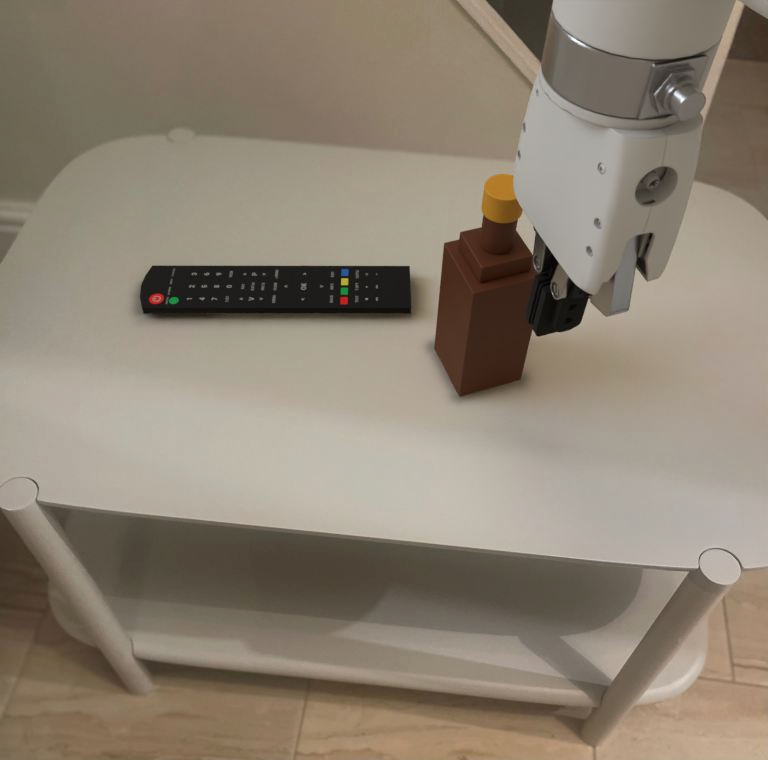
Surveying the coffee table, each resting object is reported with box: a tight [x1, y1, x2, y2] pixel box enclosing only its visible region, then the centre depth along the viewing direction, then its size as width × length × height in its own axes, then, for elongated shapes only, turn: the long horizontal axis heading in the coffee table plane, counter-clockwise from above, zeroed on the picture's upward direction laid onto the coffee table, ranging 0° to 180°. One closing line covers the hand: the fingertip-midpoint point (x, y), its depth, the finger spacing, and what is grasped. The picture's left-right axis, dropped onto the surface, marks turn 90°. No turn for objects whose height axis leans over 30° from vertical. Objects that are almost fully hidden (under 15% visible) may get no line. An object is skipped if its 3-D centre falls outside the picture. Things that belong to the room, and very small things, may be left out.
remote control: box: [139, 265, 412, 315], centre depth 71 cm, size 5×24×1 cm, turn 91°
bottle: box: [433, 173, 539, 397], centre depth 60 cm, size 6×6×18 cm
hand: (552, 322), depth 51 cm, fingers closed
